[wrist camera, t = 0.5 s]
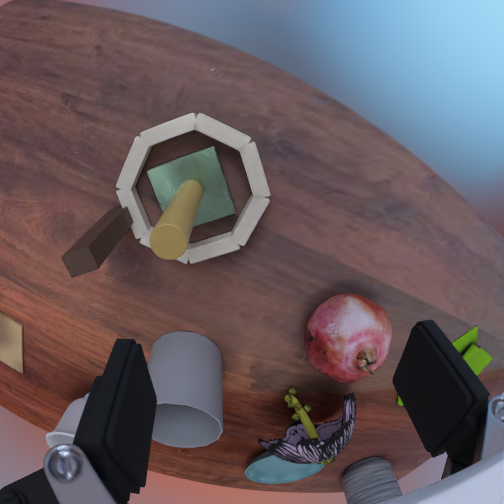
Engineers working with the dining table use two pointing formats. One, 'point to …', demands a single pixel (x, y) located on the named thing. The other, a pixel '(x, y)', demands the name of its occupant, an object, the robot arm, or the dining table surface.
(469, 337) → the cloth
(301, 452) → the decorative flower
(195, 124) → the ring
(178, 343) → the cup
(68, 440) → the teacup
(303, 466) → the saucer
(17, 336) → the cork pad
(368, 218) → the dining table surface
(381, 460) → the vase
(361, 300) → the fruit
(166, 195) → the stand
